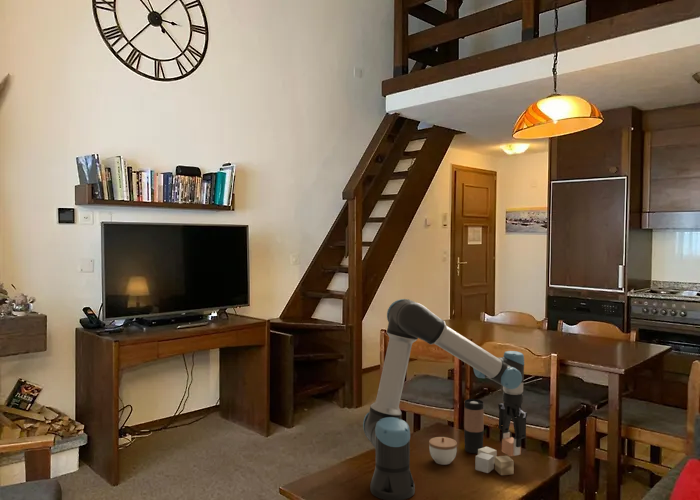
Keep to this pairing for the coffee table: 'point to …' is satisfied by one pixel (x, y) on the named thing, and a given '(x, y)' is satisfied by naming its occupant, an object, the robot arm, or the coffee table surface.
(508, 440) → the cube terracotta
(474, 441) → the travel mug
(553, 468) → the coffee table surface
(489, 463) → the cube grey
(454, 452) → the lidded jar
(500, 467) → the cube maple
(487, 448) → the cube cream
